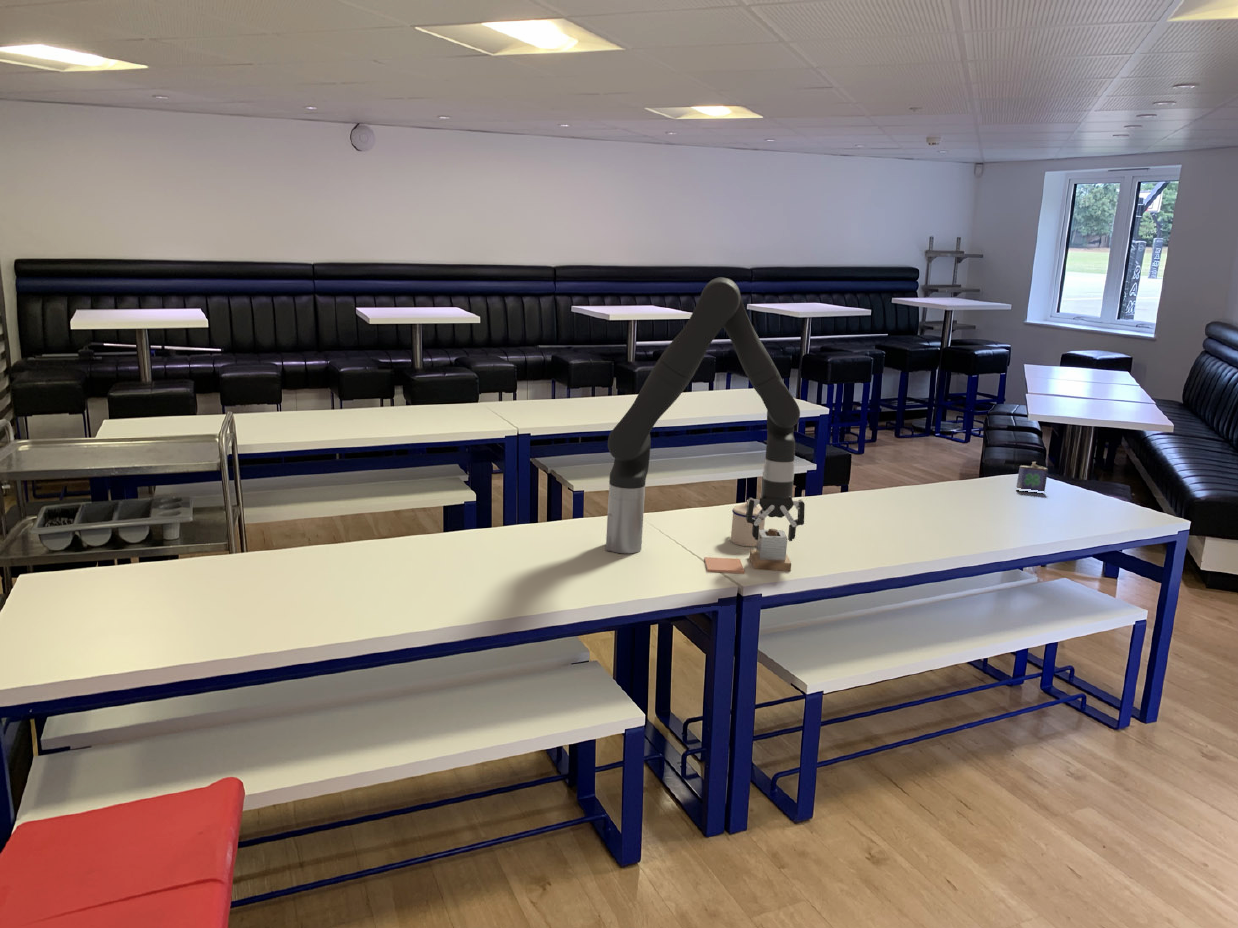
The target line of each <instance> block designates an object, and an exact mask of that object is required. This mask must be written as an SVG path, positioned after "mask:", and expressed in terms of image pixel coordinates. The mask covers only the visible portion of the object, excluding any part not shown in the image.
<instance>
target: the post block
mask: <svg viewBox="0 0 1238 928" xmlns="http://www.w3.org/2000/svg"><path fill="white" fill-rule="evenodd" d="M767 530H768V536H777V530H778V529H775V528H768V529H767ZM749 559H750V562H751V564H752V566H753V569H754V570H763V571H765V570H766V571H767V570H768V571H783V572H787V571H788V572H791V571H792V562H791V560H790V557H788V555H787V553H786V559H785V561H769V560H759V557H758V555H757V553H756V549H750V550H749Z"/></svg>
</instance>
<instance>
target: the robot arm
mask: <svg viewBox="0 0 1238 928" xmlns="http://www.w3.org/2000/svg"><path fill="white" fill-rule="evenodd" d="M722 329H724V330H725V332H726V334H727V336H728V338H729V339H730V341H731V344H732V345H733V348H734V350H735V353H736V355H737V358H738V361H739V363H740V365H741V367H742V370H743V372H744V373H745V375H746V377H747V378H748V380H749V382H750V384H751V386H752V388H753V389H754V390H755V392H756V393H757V395H758V396H759V397H760V399H761V400H762V403H763V405H764V406H765V408H766V429H767V430H766V433H767V436H766V437H767V441H766V448H765V449H766V450H765V459H764V464H763V470H762V485H761V495H760V498H759V499H757V498H753V497H748V499H747V500H748V505H747V512H746V520H747V522H748V523H751V524H753V527H752V535H753V537H754V538H755V540H758V535H759V523H760V522H761V521H762V520H764V519H765V520H766V518H767V517H769V518H778V519H779V518H780V519H781V518H783V517H785V518H786V519H787V520H788V522H789V524H788V532H787V533H788V534H787V538H788V539H787V541H788V542H793V540H795V538H796V530H797V527H799V526H803V525H804V524H805V505H806V504H805V502H804V501H803V499H798V500H793V491H794V489H793V488H794V480H795V479H794V478H795V455H796V439H795V436H794V432H795V425H797V423H798V422H799V420H800V417H801V410H800V407H799V405H798V403H797V401H796V400H795V398H794V396H793V395H792V393H791V392H790V390H789V389H788V387H787V385H786V384H785V383H784V380H783V378H782V377H781V374H780V372H779V369H778V368H777V366H776V364H775V362H774V361H773V359H772V357H771V356H770V354H769V352H768V351H767V348H766V347H765V346H764V344H763V342H762V340H761V339H760V338H759V337H760V336H758V334H757V332H756V331H755V330H756V329H755V328H754V326H753V324H752V322H751V320H750V318H749V316H748V313H747V310H746V308H745V305H744V302H743V299H742V295H741V291H740V289H739V286H738V285H737V283H735V281H733V280H732V279H730V278H728V277H727V278H726V277H716V278H715V277H714V279H711V280H710V281H708V283H707V284H705V287H704V288H703V290H702V292H701V294H700V296H699V299H698V301H697V304H696V306H695V308H694V309H693V312H692V313H691V315H690V317H689V319H688V321H687V322H686V323H685V325H684V327H683V328H682V330H681V331H680V332H679V333H678V334H677V335H676V336H675V337H674V338H673V340H672V341H671V342H670V343H669V345H668V346H667V347H666V348H665V350H664V351H663V352H662V354H661V356H660V357H659V359H658V360H657V362H656V363H655V365H654V366H653V368H652V369H651V372H650V373H649V374H648V376H647V378H646V380H645V381H644V384H643V385H642V386H641V388H640V390H639V392H638V395H637V396H636V398H635V400H634V402H632V404H631V406H630V407H629V409H628V410H627V411H626V412H625V414H624V416H623V417H622V418H621V419H620V420H619V422H618V423H617V424H616V425H615V426H614V428H613V429H612V430H610V433H609V435H608V439H607V449H608V451H609V453H610V455H611V457H613V458H614V461H613V465H612V468H611V470H610V473H609V478H608V479H609V481H608V483H609V484H608V499H607V501H608V502H607V503H608V504H607V517H606V518H607V521H606V534H605V535H606V536H605V551H606V552H608V551H609V552H613V553H618V554H635V553H638V552H640V551H641V550H642V547H643V546H642V544H643V527H644V509H645V497H646V496H645V495H646V480H647V477H648V473H649V467H650V458H651V457H650V455H651V442H652V441H651V431H652V430H653V428H654V426H655V425H656V423H657V422H658V421H659V419H660V418H662V416H663V415H664V414H665V413H666V412H667V410H668V409H670V407H671V406H672V405H673V404H674V403H675V402H676V401H677V400H678V398H679V397H680V396H681V394H683V392H684V390H685V389H686V388H687V386H688V385H689V383H690V382H691V380H692V379H693V377H694V376H695V374H696V372H697V370H698V368H699V367H700V365H701V363H702V362H703V359H704V358H705V355H706V353H707V351H708V349H709V347H710V345H711V344H712V342H713V340H714V339H715V338H716V336H717V335H719V333H720V332H721V330H722ZM759 505H760V506H759ZM756 506H759V507H761V508H762V509H761V510H760V511H759V513H758V514H757V516H756V517H755V518H752V516H753V508H756ZM793 507H794V508H795V509H796V510H797V518H796V519H794V517H793V516H792V515H791V513H790V511H791V509H792V508H793Z"/></svg>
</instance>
